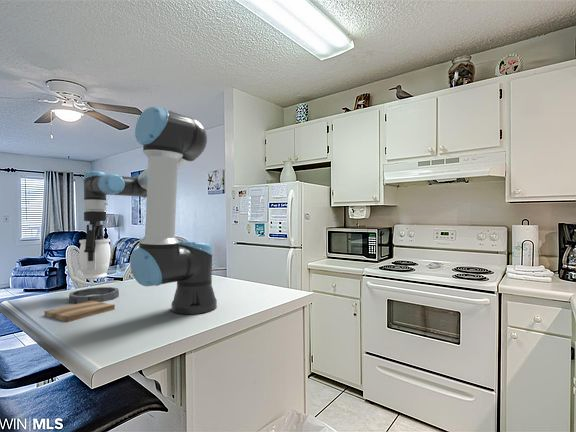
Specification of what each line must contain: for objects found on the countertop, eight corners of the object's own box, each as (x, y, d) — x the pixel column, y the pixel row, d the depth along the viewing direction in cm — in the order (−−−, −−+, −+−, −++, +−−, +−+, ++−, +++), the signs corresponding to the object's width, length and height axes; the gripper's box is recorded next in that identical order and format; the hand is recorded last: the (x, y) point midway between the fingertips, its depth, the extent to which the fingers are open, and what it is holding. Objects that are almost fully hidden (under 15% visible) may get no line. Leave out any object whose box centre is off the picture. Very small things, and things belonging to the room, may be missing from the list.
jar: (82, 281, 118) (82, 240, 118) (76, 277, 125) (76, 239, 125) (113, 277, 125) (113, 239, 125) (106, 274, 132) (106, 238, 133)
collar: (127, 295, 129) (127, 289, 129) (86, 305, 114) (86, 298, 114) (101, 291, 136) (101, 285, 136) (59, 300, 122) (59, 293, 122)
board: (114, 309, 110) (114, 304, 110) (67, 321, 96) (68, 316, 96) (91, 304, 116) (91, 300, 116) (44, 315, 102) (44, 311, 102)
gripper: (98, 210, 116) (98, 271, 115) (112, 212, 138) (112, 263, 137) (74, 210, 113) (74, 272, 113) (92, 212, 135) (92, 264, 135)
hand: (95, 267), depth 125 cm, fingers closed on jar, 10 cm apart
